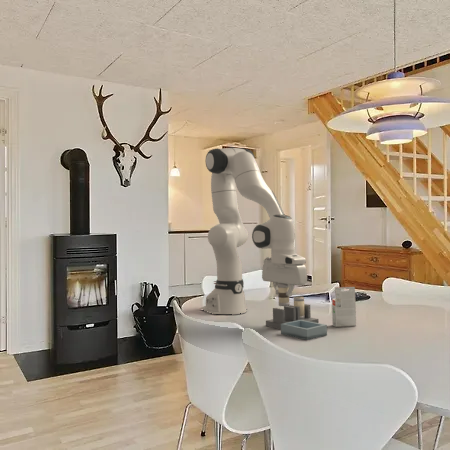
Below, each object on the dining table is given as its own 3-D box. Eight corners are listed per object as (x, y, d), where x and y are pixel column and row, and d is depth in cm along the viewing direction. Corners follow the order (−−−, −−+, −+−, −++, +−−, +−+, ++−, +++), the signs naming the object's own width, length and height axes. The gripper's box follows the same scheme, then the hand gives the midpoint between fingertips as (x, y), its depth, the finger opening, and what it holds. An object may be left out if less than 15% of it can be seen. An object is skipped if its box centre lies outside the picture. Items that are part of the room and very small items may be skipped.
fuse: (291, 318, 177) (291, 297, 177) (299, 316, 179) (298, 296, 179) (299, 319, 174) (299, 298, 174) (306, 318, 176) (306, 297, 176)
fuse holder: (265, 325, 174) (265, 307, 174) (295, 319, 184) (294, 302, 184) (289, 331, 164) (288, 311, 164) (318, 324, 174) (318, 305, 174)
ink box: (332, 325, 172) (331, 286, 172) (352, 324, 173) (351, 285, 173) (335, 327, 169) (334, 287, 169) (356, 326, 170) (355, 286, 170)
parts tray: (281, 333, 160) (280, 323, 160) (300, 329, 167) (300, 319, 167) (307, 340, 151) (307, 329, 151) (327, 335, 157) (326, 324, 157)
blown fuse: (276, 305, 172) (275, 283, 172) (283, 303, 174) (283, 282, 174) (284, 306, 169) (283, 284, 169) (291, 305, 171) (291, 283, 171)
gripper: (257, 257, 178) (258, 293, 178) (297, 260, 162) (298, 299, 162) (269, 256, 182) (270, 291, 182) (309, 259, 166) (310, 297, 166)
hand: (283, 295), depth 172 cm, fingers closed on blown fuse, 4 cm apart
